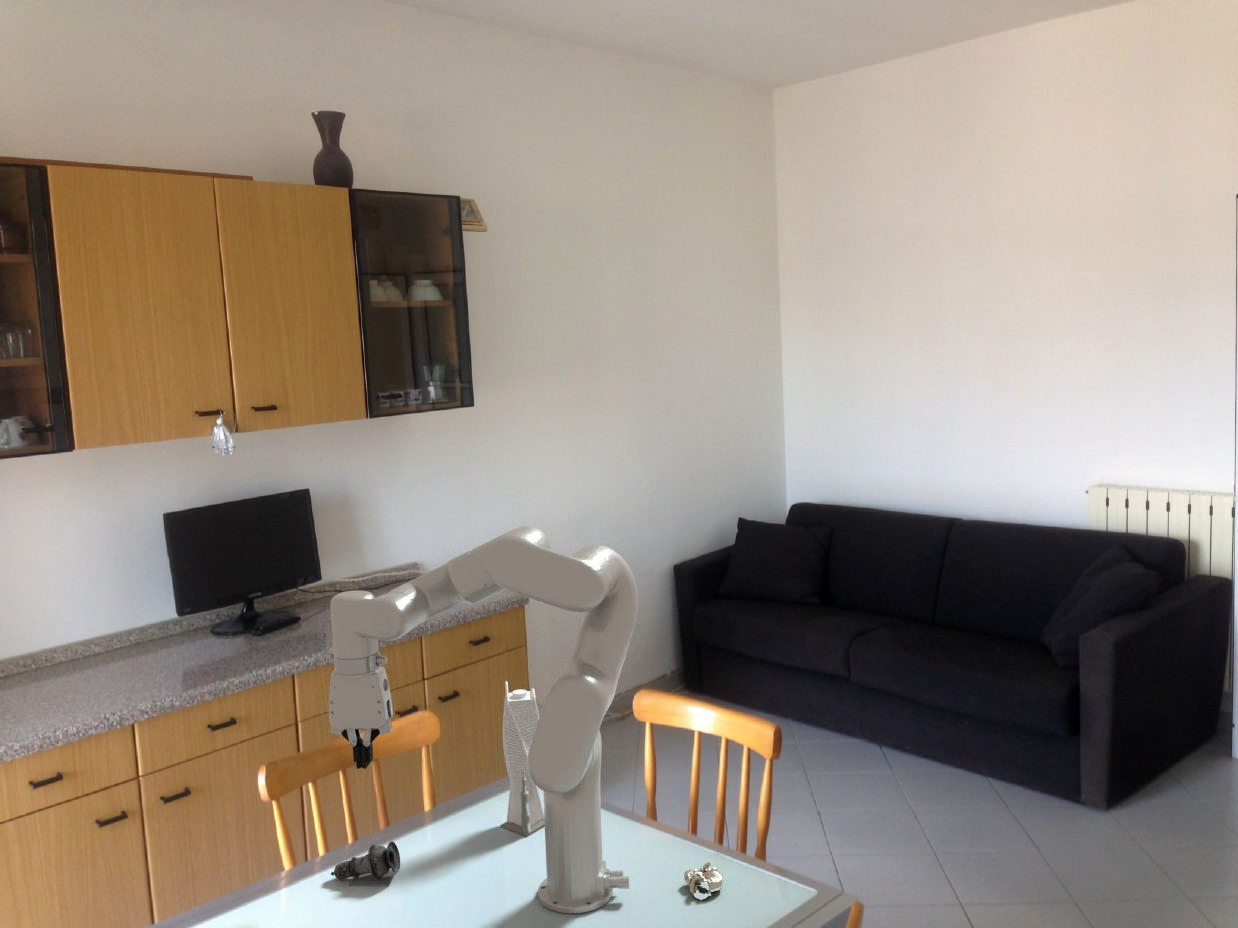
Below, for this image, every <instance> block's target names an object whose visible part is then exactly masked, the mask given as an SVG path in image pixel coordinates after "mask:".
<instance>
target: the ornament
mask: <svg viewBox="0 0 1238 928" xmlns="http://www.w3.org/2000/svg"><path fill="white" fill-rule="evenodd" d="M711 865H712V864H711V862H709V861H708V862H706V863H704V864H703V865H702V867H699V869H698V868H697V869H694V870H692V869H689V870H685V871H684V873H683V877H684V879H683V880H684V882H685V883H686V885H687V886H688V887H689V886H690V887H689V891H690V894H691V893H692V894H693V895H694V893H696V891H697V890H699V888H698V889H697V885H698V886H699V885H701V883H703V882H704V883H707V884H708V886H709V890H708V891H707V892H708V893H707V894H710V893H711V890H714V889H716V888H719V887H721V885H722V886H723V878H722V876H723V875H722V873H721V872H720V871H719V870H718V868H717V867H716V866H712V868H711V867H710V866H711ZM692 894H691V895H692ZM693 895H692V896H693Z"/></svg>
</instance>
